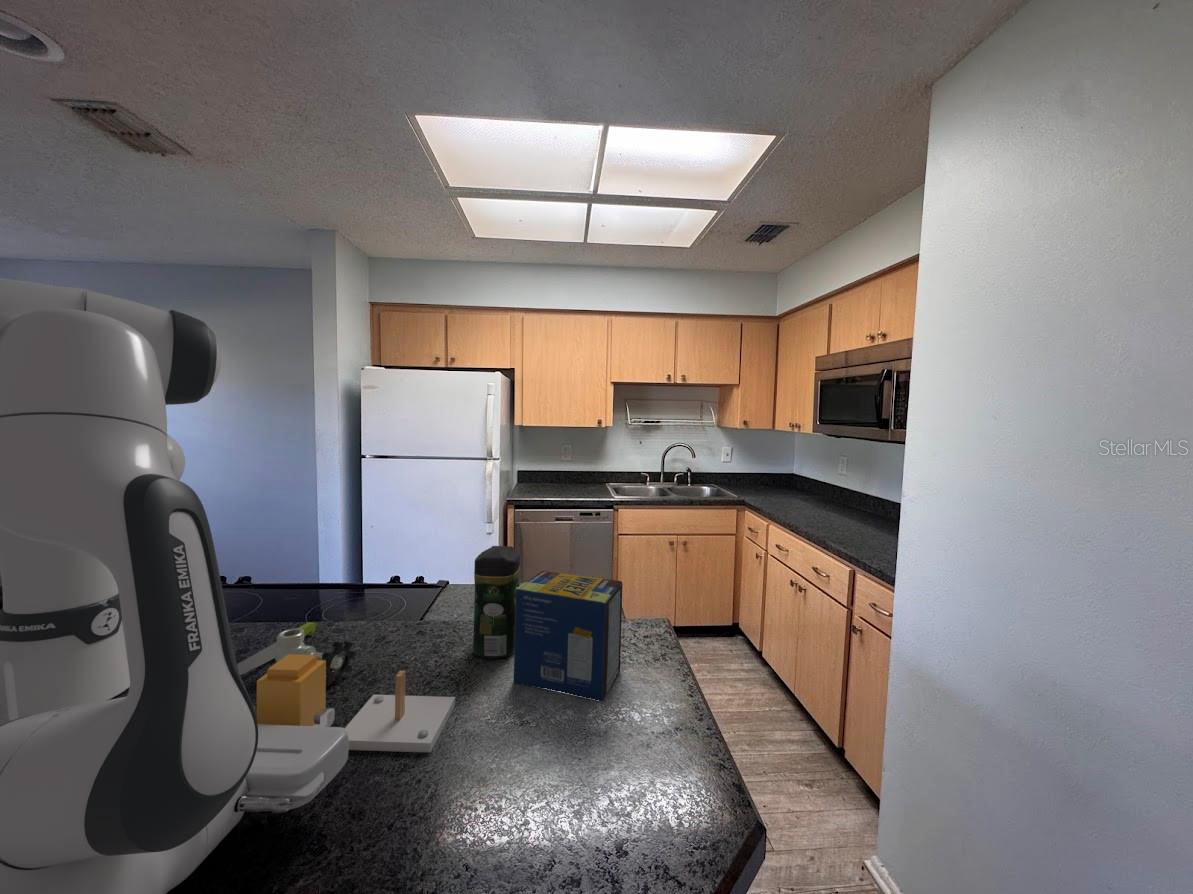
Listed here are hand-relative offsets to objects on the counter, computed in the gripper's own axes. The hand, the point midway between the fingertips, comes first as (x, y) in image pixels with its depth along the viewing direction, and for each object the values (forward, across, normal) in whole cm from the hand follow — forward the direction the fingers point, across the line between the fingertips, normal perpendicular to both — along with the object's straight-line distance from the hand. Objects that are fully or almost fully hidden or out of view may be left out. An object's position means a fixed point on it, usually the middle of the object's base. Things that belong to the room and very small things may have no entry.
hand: (289, 712), depth 55 cm
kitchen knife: (+22, +18, +6) cm, 29 cm away
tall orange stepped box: (0, 0, +6) cm, 6 cm away
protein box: (+21, -32, +6) cm, 39 cm away
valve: (+19, +9, +6) cm, 22 cm away
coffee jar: (+30, -18, +6) cm, 36 cm away
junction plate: (+7, -10, +6) cm, 14 cm away
